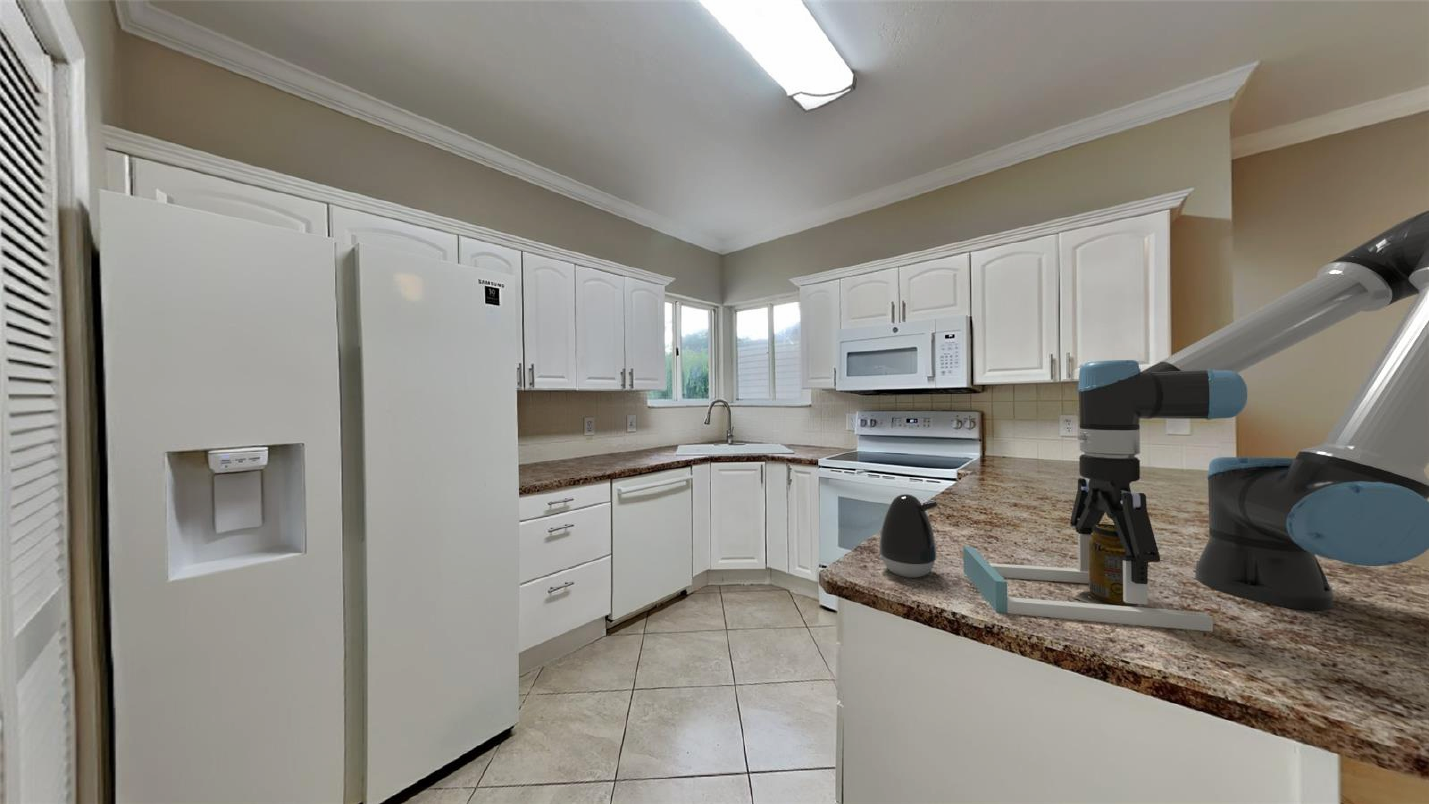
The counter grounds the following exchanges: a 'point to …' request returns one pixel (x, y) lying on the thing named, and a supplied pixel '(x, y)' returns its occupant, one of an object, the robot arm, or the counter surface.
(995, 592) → the guide
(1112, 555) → the condiment
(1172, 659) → the counter surface
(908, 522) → the pump dispenser
